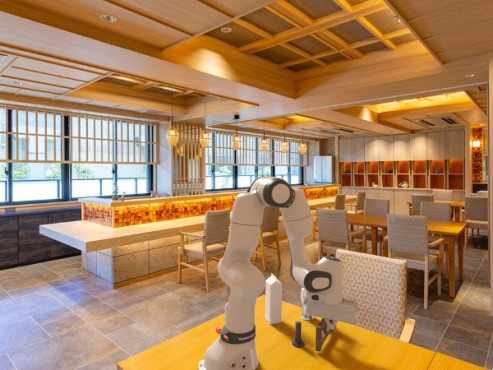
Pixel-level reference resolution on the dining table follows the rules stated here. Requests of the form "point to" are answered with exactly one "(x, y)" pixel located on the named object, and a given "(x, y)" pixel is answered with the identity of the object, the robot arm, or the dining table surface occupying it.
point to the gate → (322, 336)
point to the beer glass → (305, 304)
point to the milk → (273, 300)
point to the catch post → (297, 335)
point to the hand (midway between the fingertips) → (331, 329)
